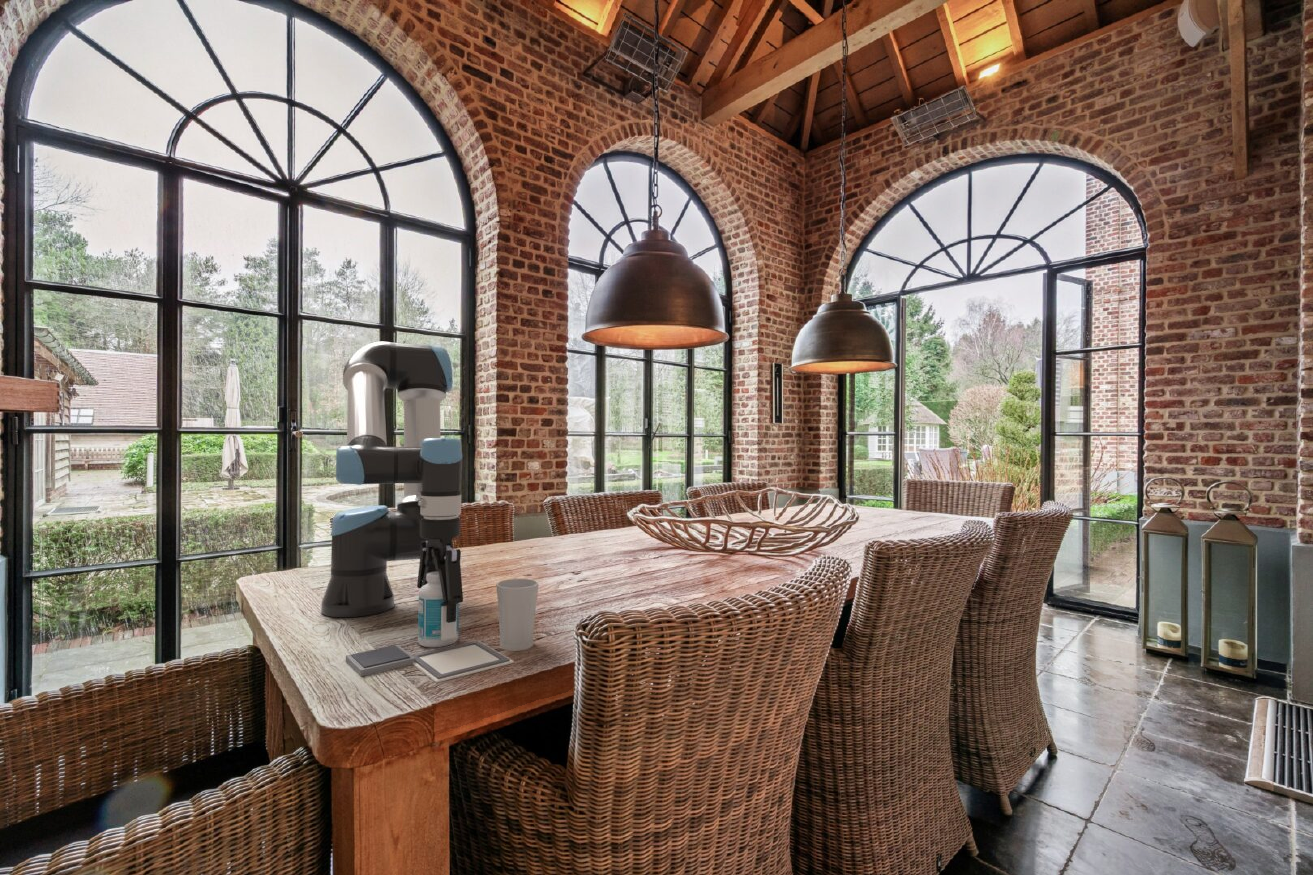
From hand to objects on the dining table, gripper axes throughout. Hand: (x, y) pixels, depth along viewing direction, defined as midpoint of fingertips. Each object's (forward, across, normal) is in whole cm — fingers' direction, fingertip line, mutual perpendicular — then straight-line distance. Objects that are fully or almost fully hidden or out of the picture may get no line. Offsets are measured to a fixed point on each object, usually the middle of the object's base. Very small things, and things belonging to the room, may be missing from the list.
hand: (438, 631), depth 118 cm
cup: (+2, +11, +11) cm, 16 cm away
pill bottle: (+2, 0, 0) cm, 2 cm away
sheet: (+2, +12, -1) cm, 12 cm away
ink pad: (+2, +4, -12) cm, 13 cm away
